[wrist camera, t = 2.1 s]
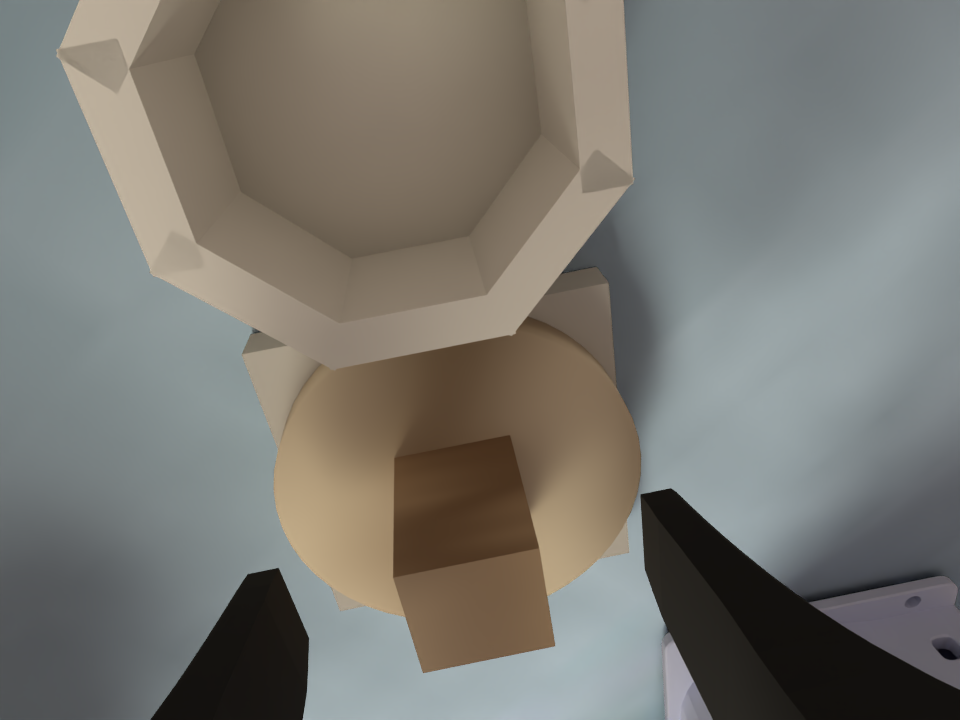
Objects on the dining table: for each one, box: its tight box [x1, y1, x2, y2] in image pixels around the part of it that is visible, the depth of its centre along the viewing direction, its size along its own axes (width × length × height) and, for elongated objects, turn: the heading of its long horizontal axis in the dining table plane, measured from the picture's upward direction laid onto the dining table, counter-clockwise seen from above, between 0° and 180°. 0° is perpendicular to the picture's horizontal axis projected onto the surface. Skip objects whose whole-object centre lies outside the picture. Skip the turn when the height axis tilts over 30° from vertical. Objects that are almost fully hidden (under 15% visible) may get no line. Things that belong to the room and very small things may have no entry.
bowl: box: [56, 0, 635, 371], centre depth 11 cm, size 8×8×4 cm
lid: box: [274, 316, 641, 673], centre depth 14 cm, size 8×8×4 cm
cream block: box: [242, 267, 629, 611], centre depth 17 cm, size 8×8×1 cm
